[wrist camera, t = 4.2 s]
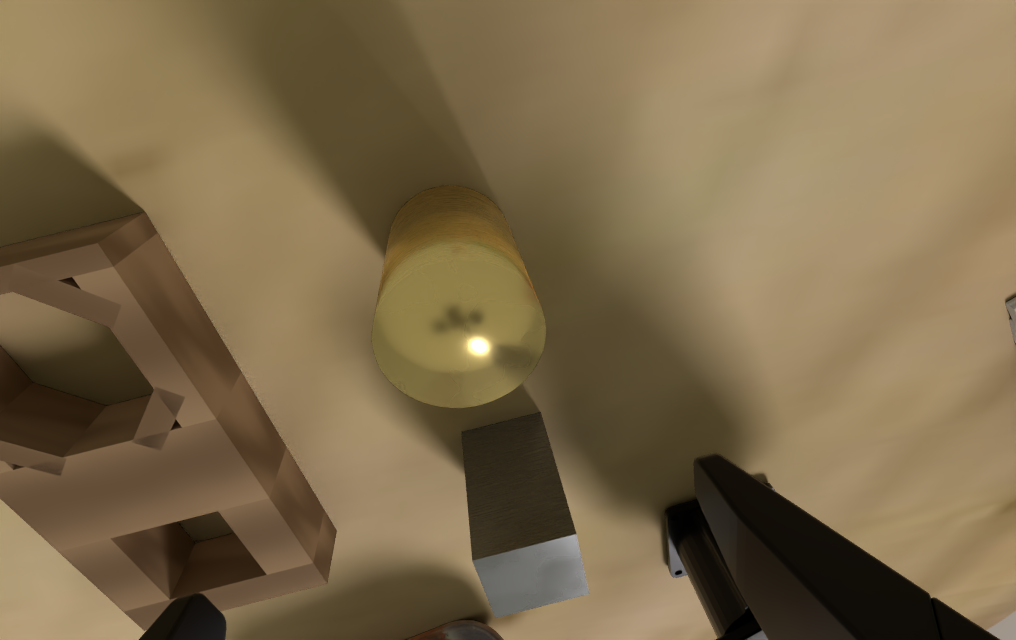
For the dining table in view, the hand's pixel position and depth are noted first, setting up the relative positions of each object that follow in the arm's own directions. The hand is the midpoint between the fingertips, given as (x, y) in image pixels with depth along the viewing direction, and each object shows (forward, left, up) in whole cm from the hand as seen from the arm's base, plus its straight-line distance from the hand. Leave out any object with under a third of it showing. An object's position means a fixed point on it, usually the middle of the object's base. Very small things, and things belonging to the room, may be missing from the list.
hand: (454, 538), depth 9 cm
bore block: (-5, +14, -13) cm, 20 cm away
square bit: (-11, -1, -13) cm, 17 cm away
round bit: (0, -1, -13) cm, 13 cm away
